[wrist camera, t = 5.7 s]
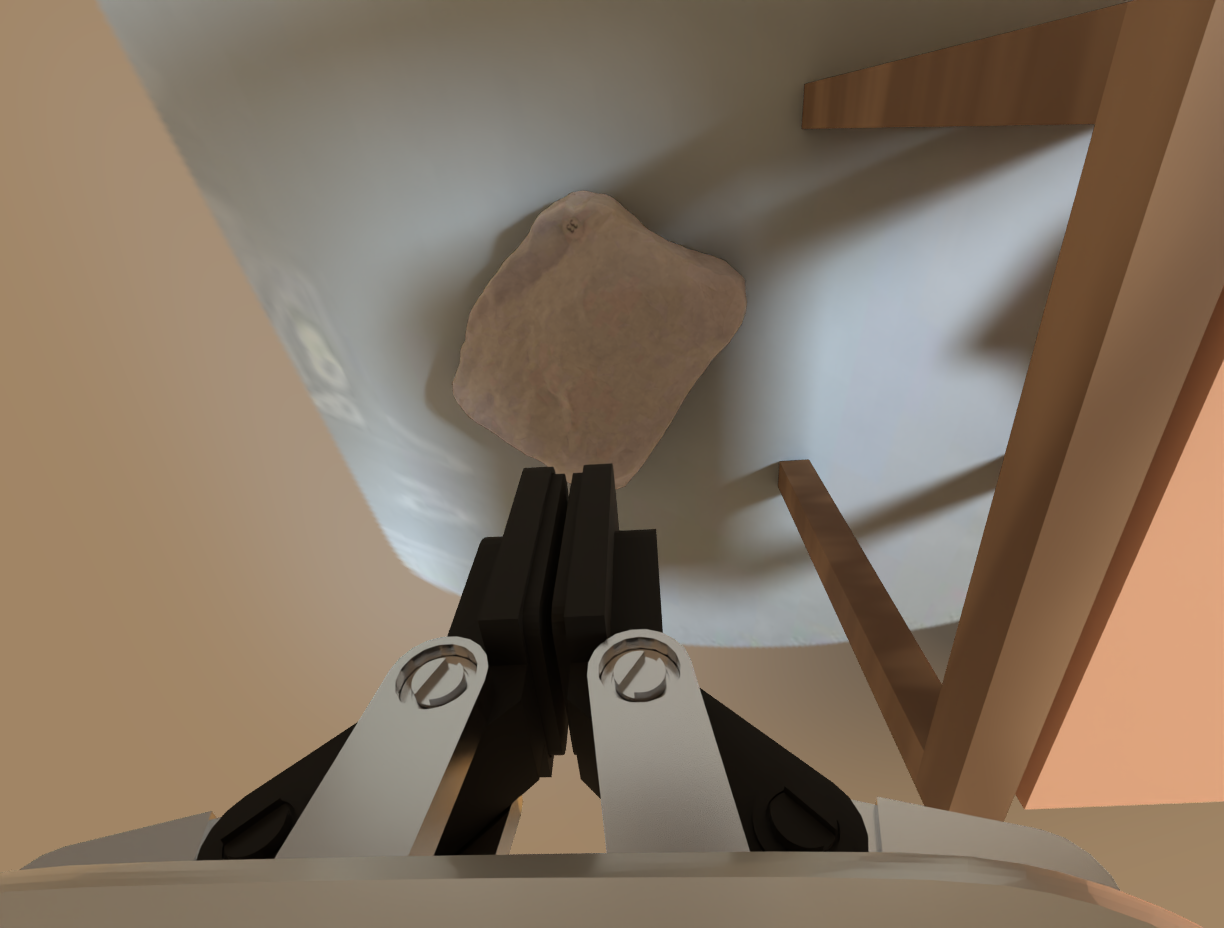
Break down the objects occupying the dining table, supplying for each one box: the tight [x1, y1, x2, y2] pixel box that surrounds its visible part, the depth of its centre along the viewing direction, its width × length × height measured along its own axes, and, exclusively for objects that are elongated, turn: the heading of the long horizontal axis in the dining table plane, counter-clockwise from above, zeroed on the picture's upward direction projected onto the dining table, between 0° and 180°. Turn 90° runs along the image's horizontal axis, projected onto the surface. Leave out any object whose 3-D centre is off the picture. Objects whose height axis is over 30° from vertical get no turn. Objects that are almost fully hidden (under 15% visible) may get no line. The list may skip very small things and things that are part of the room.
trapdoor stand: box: [778, 0, 1224, 822], centre depth 19 cm, size 14×18×18 cm
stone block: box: [452, 191, 747, 490], centre depth 27 cm, size 12×5×10 cm
